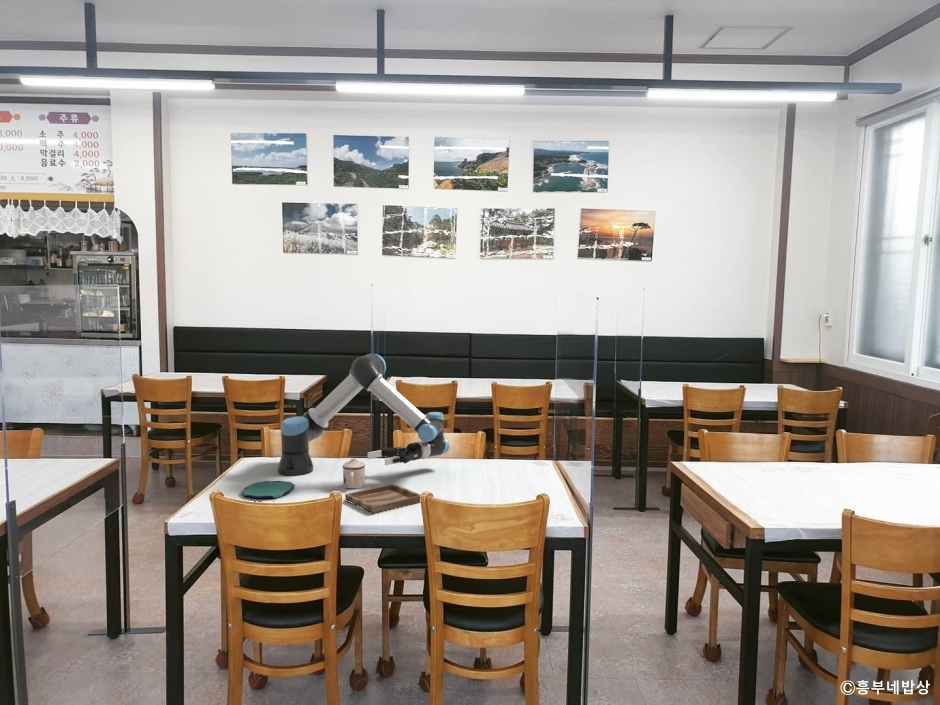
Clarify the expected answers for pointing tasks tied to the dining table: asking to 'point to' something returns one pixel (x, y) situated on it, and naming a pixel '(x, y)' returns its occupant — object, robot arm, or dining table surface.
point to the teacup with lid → (353, 474)
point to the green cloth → (268, 489)
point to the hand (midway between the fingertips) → (376, 458)
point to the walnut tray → (383, 498)
